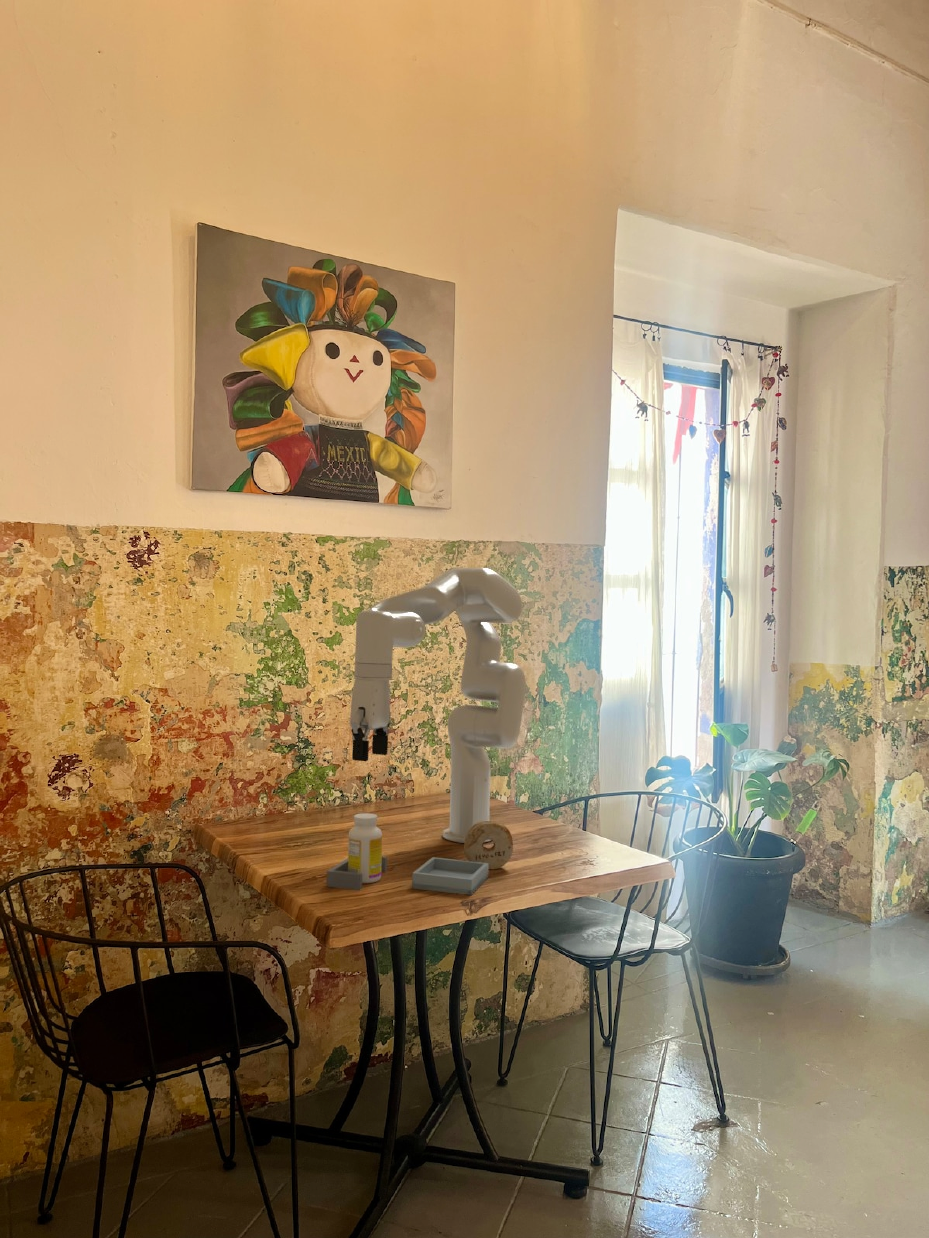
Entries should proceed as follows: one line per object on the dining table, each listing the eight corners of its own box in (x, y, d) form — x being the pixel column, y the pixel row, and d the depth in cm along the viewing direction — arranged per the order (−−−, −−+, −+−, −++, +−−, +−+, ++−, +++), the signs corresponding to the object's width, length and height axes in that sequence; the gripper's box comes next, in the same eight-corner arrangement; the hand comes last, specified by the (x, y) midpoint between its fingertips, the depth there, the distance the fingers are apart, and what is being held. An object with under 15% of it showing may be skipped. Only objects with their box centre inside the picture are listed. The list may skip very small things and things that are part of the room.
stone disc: (510, 865, 196) (512, 819, 196) (513, 870, 193) (514, 823, 193) (462, 865, 196) (463, 818, 196) (463, 870, 192) (465, 822, 192)
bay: (355, 867, 192) (356, 852, 192) (386, 870, 190) (387, 856, 190) (326, 886, 179) (327, 871, 179) (359, 890, 177) (360, 874, 177)
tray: (432, 871, 190) (432, 857, 190) (488, 877, 187) (488, 863, 187) (412, 888, 179) (412, 872, 179) (471, 895, 175) (471, 879, 175)
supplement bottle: (382, 874, 187) (383, 812, 187) (380, 884, 181) (381, 819, 181) (349, 874, 187) (350, 811, 187) (346, 884, 181) (347, 819, 180)
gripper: (373, 669, 193) (370, 750, 193) (337, 673, 177) (334, 761, 177) (406, 671, 191) (403, 753, 191) (373, 675, 175) (370, 764, 175)
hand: (370, 757), depth 184 cm, fingers open, 9 cm apart
